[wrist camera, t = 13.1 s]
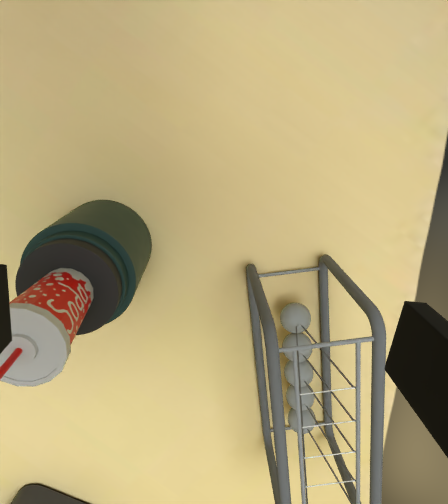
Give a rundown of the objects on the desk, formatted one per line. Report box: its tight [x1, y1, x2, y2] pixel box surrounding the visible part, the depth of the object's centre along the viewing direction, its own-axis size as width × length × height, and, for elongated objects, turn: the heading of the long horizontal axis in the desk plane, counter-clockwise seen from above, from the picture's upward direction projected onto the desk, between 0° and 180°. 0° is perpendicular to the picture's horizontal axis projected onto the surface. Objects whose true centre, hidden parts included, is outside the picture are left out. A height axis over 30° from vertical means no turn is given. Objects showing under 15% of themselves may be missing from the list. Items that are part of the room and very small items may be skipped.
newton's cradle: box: [246, 255, 386, 504], centre depth 45 cm, size 30×10×18 cm, turn 7°
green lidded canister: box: [16, 200, 152, 335], centre depth 40 cm, size 11×11×14 cm
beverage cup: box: [0, 268, 94, 386], centre depth 27 cm, size 6×6×14 cm
